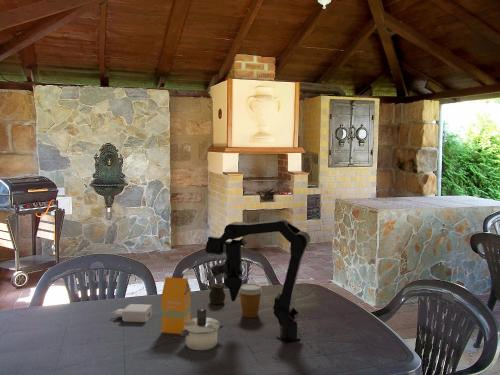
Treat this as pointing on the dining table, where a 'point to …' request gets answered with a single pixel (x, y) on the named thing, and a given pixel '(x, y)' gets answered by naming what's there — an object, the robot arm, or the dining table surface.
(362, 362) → the dining table surface
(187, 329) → the lid
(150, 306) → the charger
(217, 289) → the mate gourd
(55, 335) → the dining table surface
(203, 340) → the pot
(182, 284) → the orange juice
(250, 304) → the disposable coffee cup
